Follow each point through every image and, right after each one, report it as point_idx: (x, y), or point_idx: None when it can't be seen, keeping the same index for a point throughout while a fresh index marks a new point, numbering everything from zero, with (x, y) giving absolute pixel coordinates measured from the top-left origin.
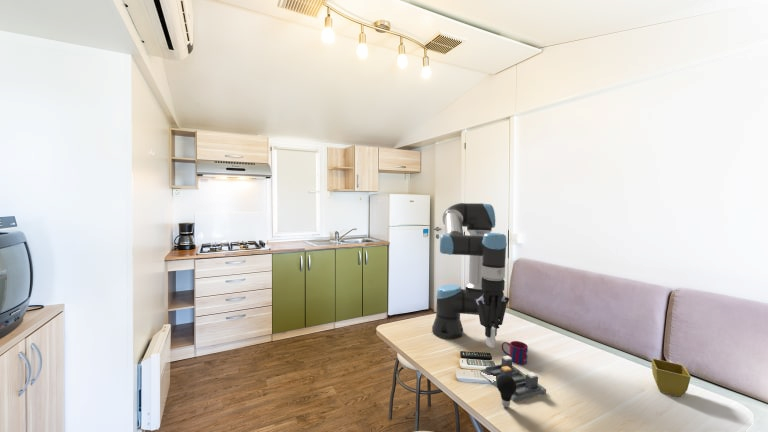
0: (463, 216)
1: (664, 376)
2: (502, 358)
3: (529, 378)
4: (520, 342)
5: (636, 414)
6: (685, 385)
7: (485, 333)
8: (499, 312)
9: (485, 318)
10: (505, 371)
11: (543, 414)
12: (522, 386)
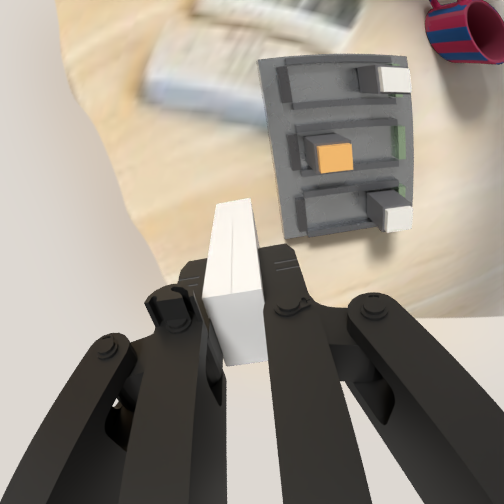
0: None
1: None
2: (375, 69)
3: (380, 222)
4: (500, 21)
5: (484, 295)
6: None
7: (180, 281)
8: (427, 469)
9: (118, 478)
10: (320, 171)
11: (327, 285)
12: (354, 192)
